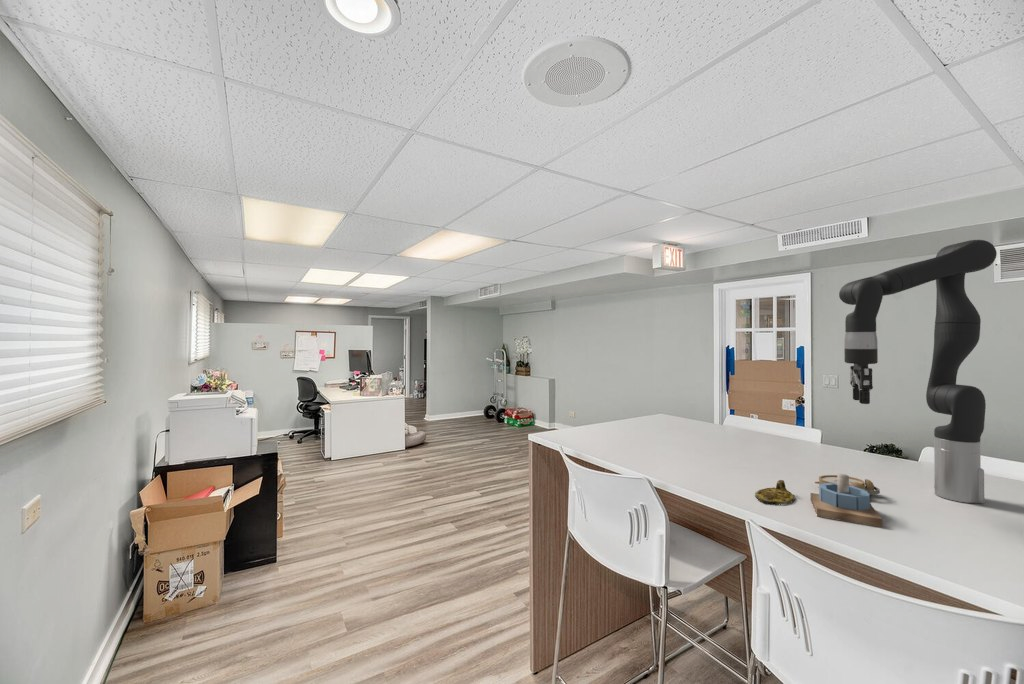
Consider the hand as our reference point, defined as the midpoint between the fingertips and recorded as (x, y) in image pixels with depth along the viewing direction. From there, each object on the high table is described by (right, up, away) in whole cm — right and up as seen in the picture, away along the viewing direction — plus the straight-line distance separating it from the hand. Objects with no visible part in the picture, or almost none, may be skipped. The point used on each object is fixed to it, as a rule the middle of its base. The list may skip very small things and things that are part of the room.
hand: (860, 401), depth 122 cm
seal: (-26, -29, 0) cm, 39 cm away
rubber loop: (-13, -26, -10) cm, 31 cm away
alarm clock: (-1, -29, +3) cm, 29 cm away
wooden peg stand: (-14, -28, -11) cm, 34 cm away
